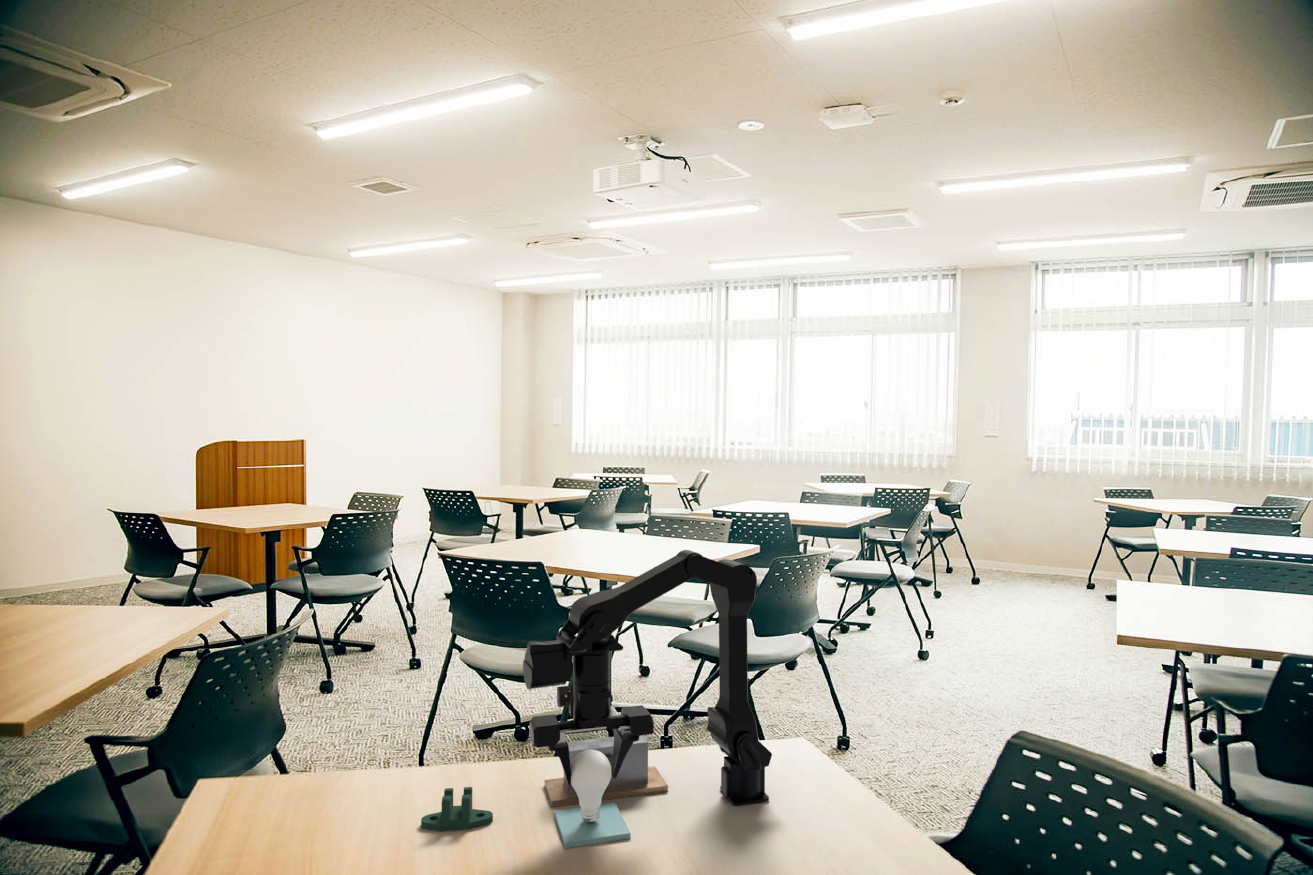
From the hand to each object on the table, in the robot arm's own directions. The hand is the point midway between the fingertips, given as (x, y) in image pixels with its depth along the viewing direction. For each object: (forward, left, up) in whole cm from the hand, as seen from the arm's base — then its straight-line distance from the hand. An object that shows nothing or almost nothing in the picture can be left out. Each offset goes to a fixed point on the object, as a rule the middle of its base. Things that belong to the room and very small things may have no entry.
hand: (591, 780), depth 119 cm
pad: (0, 0, -7) cm, 7 cm away
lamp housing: (-5, -12, -7) cm, 15 cm away
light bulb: (0, 0, -7) cm, 7 cm away
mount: (+20, -7, -8) cm, 23 cm away
